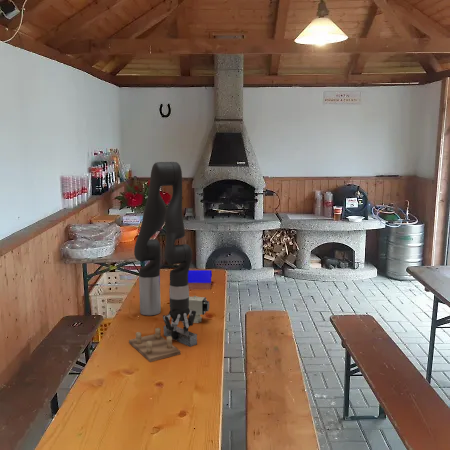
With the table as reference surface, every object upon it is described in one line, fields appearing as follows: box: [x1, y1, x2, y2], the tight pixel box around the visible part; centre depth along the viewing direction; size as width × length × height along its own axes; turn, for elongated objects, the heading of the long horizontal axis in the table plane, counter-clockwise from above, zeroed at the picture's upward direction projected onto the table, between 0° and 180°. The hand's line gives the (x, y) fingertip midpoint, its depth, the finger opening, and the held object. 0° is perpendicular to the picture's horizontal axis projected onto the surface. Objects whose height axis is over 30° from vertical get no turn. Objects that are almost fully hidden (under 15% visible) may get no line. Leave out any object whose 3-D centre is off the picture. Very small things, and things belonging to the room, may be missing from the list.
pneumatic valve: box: [189, 295, 210, 324], centre depth 205 cm, size 6×12×12 cm, turn 79°
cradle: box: [128, 327, 181, 363], centre depth 179 cm, size 20×12×5 cm, turn 33°
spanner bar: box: [163, 325, 198, 348], centre depth 187 cm, size 16×4×4 cm, turn 45°
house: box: [188, 269, 213, 290], centre depth 250 cm, size 12×20×12 cm, turn 89°
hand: (180, 337), depth 187 cm, fingers closed on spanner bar, 4 cm apart
